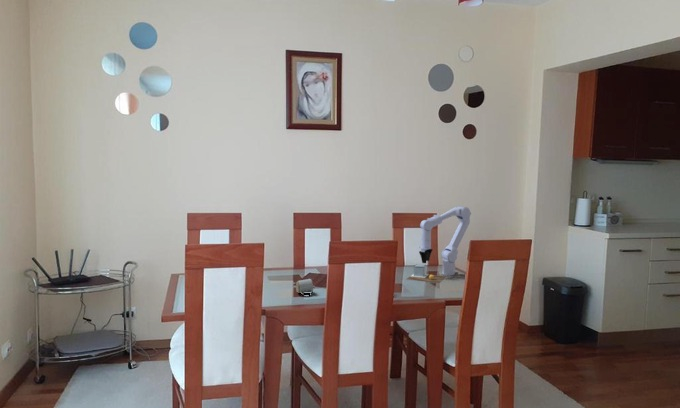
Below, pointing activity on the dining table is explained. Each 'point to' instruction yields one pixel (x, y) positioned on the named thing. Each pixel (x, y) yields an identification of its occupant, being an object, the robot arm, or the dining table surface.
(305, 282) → the ceramic mug
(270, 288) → the dining table surface
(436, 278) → the board
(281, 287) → the dining table surface
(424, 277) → the pad
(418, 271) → the light blue cube
